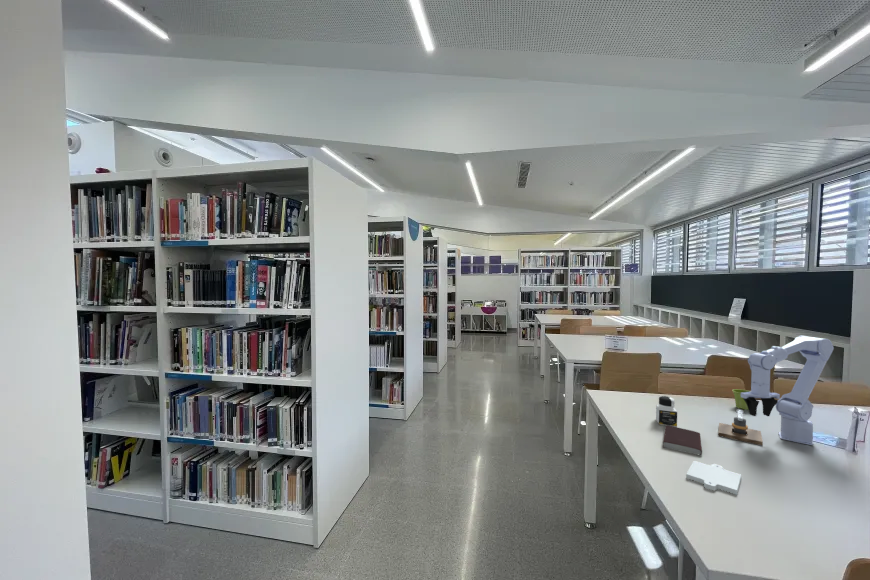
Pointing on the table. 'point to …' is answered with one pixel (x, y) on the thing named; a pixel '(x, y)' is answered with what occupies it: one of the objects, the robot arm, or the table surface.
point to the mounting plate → (714, 477)
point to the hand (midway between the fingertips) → (759, 415)
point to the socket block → (750, 436)
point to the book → (682, 440)
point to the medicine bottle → (666, 412)
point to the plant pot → (740, 399)
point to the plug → (739, 426)
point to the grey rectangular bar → (740, 414)
